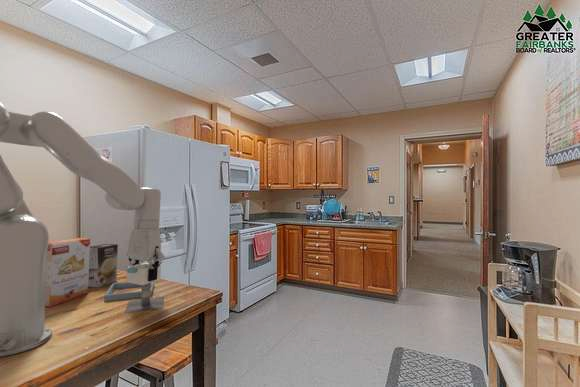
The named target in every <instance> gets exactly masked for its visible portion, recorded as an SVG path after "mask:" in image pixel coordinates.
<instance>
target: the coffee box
mask: <svg viewBox="0 0 580 387" xmlns="http://www.w3.org/2000/svg"><path fill="white" fill-rule="evenodd" d="M118 247H119V245H118V244H116V243H114V244H113V243H104V244H98V245H92V246H91V245H90V256H89V279H88V288H89V287H90V288H97V289H98V288H101V287H104V286H107V285H110V284H113V283H117V278H118V275H117V274H118V252H119V251H118Z"/></svg>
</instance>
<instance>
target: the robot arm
mask: <svg viewBox="0 0 580 387" xmlns="http://www.w3.org/2000/svg"><path fill="white" fill-rule="evenodd" d="M0 143H6V144H13V145H18V146H19V145H20V146H27V147H28V146H29V147H36V148H37V147H38V148H43V149H45V150H46V151H47V152H48V153H49V154H51V155H52V156H53V157H54V158H56V160H58V161H59V163H61V164H62V165H63V166H64V167H65V168H67V169H68V170H69V171H70V172H71V173H73V174H74V175H76V176H78V177H80V178H83V179H84V180H87V181H89V182H92V183H93V184H95V185H96V186H98V187H99V188H100V189H102V190H103V191H104V192H105V193H106V194H105V196H104V198H105V202H106V204H108V206H109V207H111V208H113V209H115V210H121V211H122V210H123V211H124V210H126V211H134V216H133V228H131V233H130V236H129V240H128V241H129V243H128V250H127V251H126V256H127V258H128V261H129V266H133V265H137V264H141V262H143V261H144V262H147V263H149V266H150V269H148V281H153V280H157V272H158V267H159V265H162V263H163V261H164V260H165V259H166V257H165V255H164V254H163V252H162V238H161V230H160V218H161V217H160V215H161V199H162V192H161V190H160V189H158V188H154V187H152V188H151V187H140V186H139V185H138V184H137V183H136V182H135V181H134V180H133V179H132V178H131V177H130V176H129V175H128V174H127V173H126V172H125V171H124V170H123V169H121V168H119V167H118V166H117V165H116V164H114V163H113V162H112V161H110V160H109V159H107V157H105V156H103V155H102V154H100V153H99V152H98V151H97V150H96V149H95V148H94V147H93V146H92V145H91V144H90V143H89V142H88V141H87V140H86V139H85V138H84V137H83V136H81V134H80V133H78V132H77V131H76V130H75V128H73V127H72V125H71V124H69V123H68V122H67V121H66V120H65V119H64V118H63V117H61V115H58V114H57V113H55V112H52V111H46V110H44V111H39V112H35V113H33V114H32V115H29V114H28V115H27V114H23V113H17V112H12V111H8V109H7V108H6V107H5V106H4V105H3V104H2V103H1V102H0ZM49 237H50V236H49V231H48V228H47V225H46V224H45V223H44V222H43V221H41V219H38V218H37V217H34V215H33V214H32V212H31V210H30V208H29V207H28V205H27V204H26V202H25V200H24V192H23V189H22V188H21V186H20V185H19V183H18V182H17V180H16V179H15V178H14V176H13V174H12V173H11V171H10V169H9V168H8V166H7V165H6V163H5V161H4V159H3V157H2V155H1V154H0V357H6V356H11V355H16V354H20V353H23V352H26V351H28V350H31V349H34V348H37V347H39V346H40V345H43V344H45V343H46V342H47V341H49V340H50V339H51V337H52V336H53V330H52V329H51V328H50V327H45V316H46V315H45V312H46V311H45V310H46V306H45V282H46V257H47V249H48V242H50V240H49V239H50V238H49Z"/></svg>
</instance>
